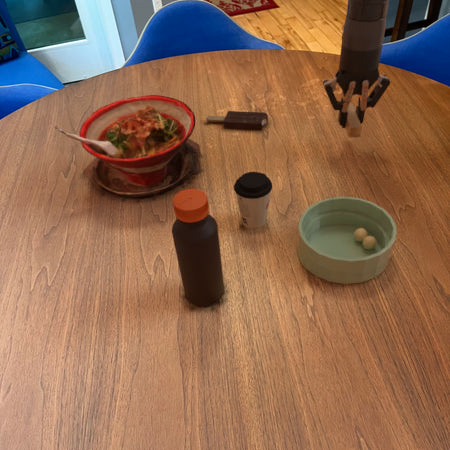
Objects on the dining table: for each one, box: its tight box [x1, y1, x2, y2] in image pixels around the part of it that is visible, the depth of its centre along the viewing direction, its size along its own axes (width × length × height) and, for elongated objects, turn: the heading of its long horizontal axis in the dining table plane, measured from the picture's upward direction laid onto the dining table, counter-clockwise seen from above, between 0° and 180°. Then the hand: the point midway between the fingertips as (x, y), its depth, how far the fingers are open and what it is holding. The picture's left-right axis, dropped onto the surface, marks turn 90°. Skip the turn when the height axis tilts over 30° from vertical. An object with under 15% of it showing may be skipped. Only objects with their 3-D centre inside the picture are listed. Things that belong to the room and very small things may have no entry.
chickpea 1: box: [354, 228, 368, 242], centre depth 86 cm, size 2×2×2 cm
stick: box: [344, 103, 363, 139], centre depth 102 cm, size 2×9×2 cm, turn 3°
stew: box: [54, 94, 202, 200], centre depth 99 cm, size 28×24×16 cm
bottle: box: [171, 188, 225, 308], centre depth 74 cm, size 7×7×20 cm
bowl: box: [296, 196, 398, 285], centre depth 83 cm, size 16×16×6 cm
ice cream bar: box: [205, 110, 269, 131], centre depth 116 cm, size 5×2×15 cm
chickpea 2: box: [362, 236, 377, 250], centre depth 84 cm, size 2×2×2 cm
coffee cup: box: [233, 171, 273, 230], centre depth 89 cm, size 7×7×10 cm
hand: (350, 125), depth 103 cm, fingers closed on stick, 2 cm apart
